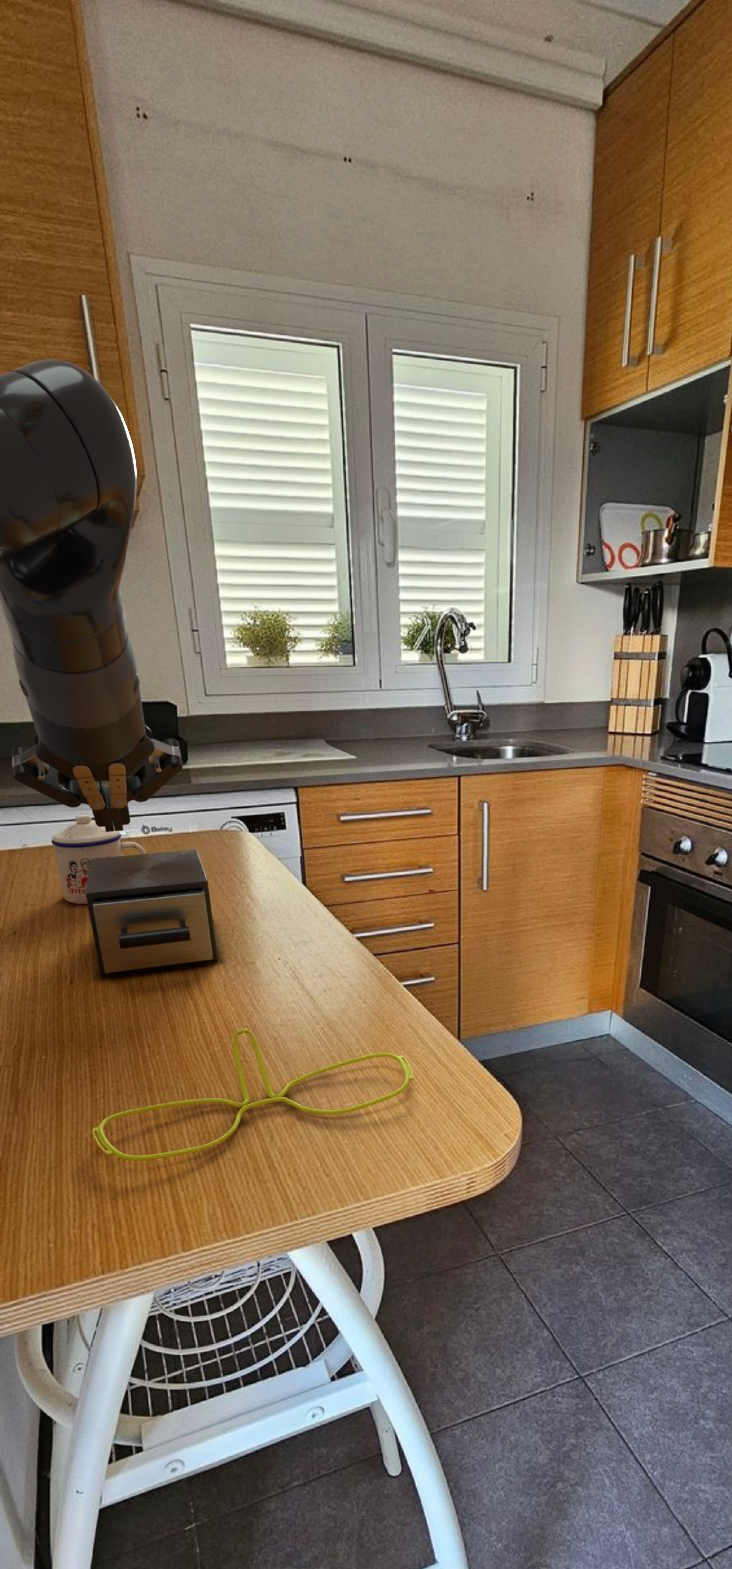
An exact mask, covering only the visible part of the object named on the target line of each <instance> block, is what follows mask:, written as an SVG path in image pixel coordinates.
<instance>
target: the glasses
mask: <svg viewBox="0 0 732 1569" xmlns="http://www.w3.org/2000/svg"><path fill="white" fill-rule="evenodd" d="M243 1034H248V1035H249V1038H250V1041H251V1044H252V1048H253V1052H254V1054H255V1058H256V1061H257V1065H258V1068H259V1071H260V1075H261V1078H262V1081H263V1083H264V1087H265V1091H266V1093H267V1095H268V1097H269V1098H266V1099H265V1098H264V1099H261V1100H257V1101H254V1102H251V1103H250V1097H249V1092H248V1088H247V1084H246V1081H245V1076H244V1071H243V1068H242V1063H241V1058H240V1052H239V1045H238V1038H239V1036H240V1035H243ZM232 1052H233V1057H234V1063H235V1067H236V1072H237V1078H238V1081H239V1085H240V1090H241V1094H242V1097H243V1101H242V1102H237V1101H233V1100H230V1099H226V1098H220V1097H219V1098H217V1097H216V1098H215V1097H213V1098H195V1099H187V1100H179V1101H172V1102H171V1101H170V1102H166V1103H160V1104H153V1105H152V1104H151V1105H146V1106H142V1107H137V1108H133V1109H129V1110H124V1111H121V1112H117V1113H114V1114H111V1115H109V1116H106V1117H105V1118H104V1119H103V1120H102V1121H100V1124H99V1125H98V1126H97V1127H93V1128H92V1131H91V1132H92V1136H93V1138H94V1141H95V1143H96V1144H97V1146H98V1148H99V1149H100V1150H101V1151H102V1152H103V1153H104V1154H105V1155H107V1156H111V1155H114V1156H115V1157H117V1158H119V1159H121V1160H126V1161H133V1162H135V1161H136V1162H140V1161H141V1162H142V1161H143V1162H144V1161H151V1160H160V1159H165V1158H172V1157H178V1156H183V1155H188V1154H192V1153H197V1152H202V1151H205V1150H208V1149H210V1148H212V1147H215V1146H217V1145H219V1144H221V1143H222V1142H224V1141H225V1140H227V1139H228V1138H230V1137H231V1136H232V1135H233V1134H234V1132H236V1130H237V1129H238V1126H239V1125H240V1122H241V1119H242V1116H243V1114H244V1112H245V1111H247V1110H249V1109H252V1108H255V1107H259V1106H262V1105H267V1104H271V1103H278V1102H285V1103H287V1105H290V1106H292V1107H294V1108H296V1109H298V1110H300V1111H303V1112H306V1113H308V1114H314V1115H322V1116H323V1115H326V1116H327V1115H328V1116H331V1115H333V1116H334V1115H343V1114H348V1113H352V1112H355V1111H358V1110H362V1109H365V1108H369V1107H371V1106H374V1105H377V1104H380V1103H383V1102H385V1101H387V1100H390V1099H392V1098H394V1097H396V1096H398V1095H400V1094H402V1093H403V1092H404V1091H405V1090H406V1089H407V1088H408V1086H409V1085H410V1081H412V1080H414V1079H415V1078H414V1077H415V1076H414V1071H413V1068H412V1066H411V1064H410V1062H409V1061H408V1059H407V1058H406V1057H405V1056H404V1055H396V1054H394V1053H390V1052H377V1053H371V1054H367V1055H362V1056H358V1057H354V1058H349V1059H346V1060H343V1061H340V1062H337V1063H334V1064H330V1065H328V1066H324V1067H322V1068H320V1069H316V1070H313V1071H311V1072H308V1073H306V1074H304V1075H302V1076H299V1077H297V1078H295V1079H293V1080H292V1081H290V1082H289V1083H287V1084H286V1085H285V1087H283V1089H282V1090H281V1092H279V1093H274V1092H273V1090H272V1086H271V1083H270V1080H269V1078H268V1075H267V1072H266V1068H265V1065H264V1061H263V1059H262V1056H261V1051H260V1049H259V1044H258V1042H257V1040H256V1038H255V1036H254V1034H253V1032H252V1031H250V1029H248V1028H241V1029H238V1030H237V1031H236V1032H235V1033H234V1036H233V1038H232ZM375 1058H391V1059H393V1060H396V1062H398V1063H399V1065H400V1067H401V1069H402V1071H403V1073H404V1083H403V1084H402V1086H401V1087H399V1088H398V1089H396V1090H394V1091H392V1092H390V1093H388V1094H386V1095H383V1096H380V1097H378V1098H375V1099H372V1100H369V1101H366V1102H363V1103H360V1104H357V1105H353V1106H350V1107H346V1108H340V1109H316V1108H312V1107H307V1106H304V1105H302V1104H300V1103H299V1102H298V1103H297V1102H296V1101H294V1100H291V1099H289V1098H287V1097H286V1096H285V1095H287V1092H288V1091H289V1090H290V1089H291V1088H292V1087H293V1086H294V1085H297V1084H298V1083H301V1082H303V1081H305V1080H307V1079H310V1078H312V1077H314V1076H317V1075H319V1074H323V1073H325V1072H328V1071H331V1070H334V1069H337V1068H341V1067H345V1066H347V1065H350V1064H355V1063H358V1062H363V1061H367V1060H370V1059H375ZM410 1073H411V1074H410ZM198 1104H200V1105H201V1104H225V1105H229V1106H232V1107H234V1108H240V1109H239V1110H238V1111H237V1113H236V1116H235V1120H234V1123H233V1125H232V1126H231V1127H230V1129H229V1130H228V1131H226V1132H225V1133H224V1134H223V1135H221V1136H220V1137H218V1138H216V1139H214V1140H213V1141H210V1142H207V1143H204V1144H201V1145H198V1146H194V1147H189V1148H184V1149H179V1150H173V1151H168V1152H160V1153H153V1154H145V1155H143V1154H142V1155H133V1154H126V1153H123V1152H121V1151H119V1150H118V1149H116V1148H115V1147H114V1146H113V1145H112V1144H111V1143H110V1142H109V1140H108V1139H107V1136H106V1135H105V1132H104V1127H105V1126H106V1125H107V1124H108V1123H110V1122H111V1121H114V1120H116V1119H120V1118H123V1117H126V1116H131V1115H135V1114H140V1113H145V1112H149V1111H154V1110H161V1109H168V1108H173V1107H174V1108H175V1107H181V1106H188V1105H198ZM96 1133H97V1135H96ZM98 1138H99V1139H98ZM102 1145H103V1146H104V1147H103V1146H102Z"/></svg>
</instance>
